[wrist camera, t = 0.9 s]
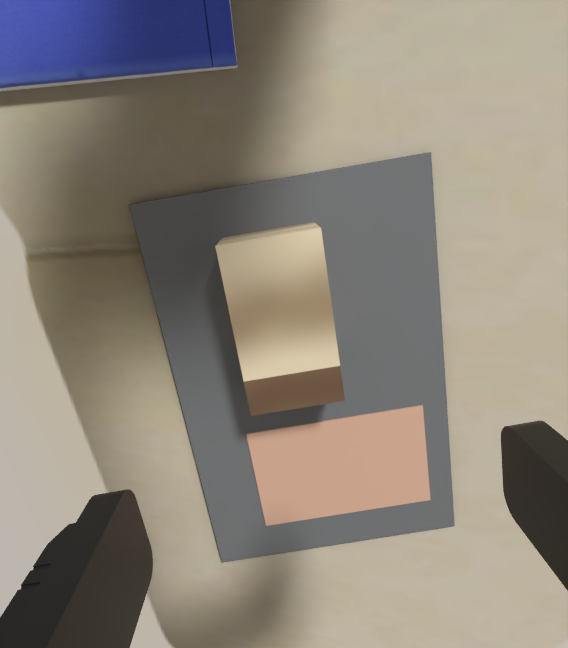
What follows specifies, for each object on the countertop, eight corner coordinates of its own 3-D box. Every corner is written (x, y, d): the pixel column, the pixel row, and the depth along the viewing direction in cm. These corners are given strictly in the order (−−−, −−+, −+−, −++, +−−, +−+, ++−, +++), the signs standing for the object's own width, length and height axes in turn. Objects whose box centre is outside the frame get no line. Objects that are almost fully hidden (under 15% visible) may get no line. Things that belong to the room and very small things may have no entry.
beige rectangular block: (222, 237, 24) (215, 246, 21) (314, 222, 24) (321, 227, 21) (253, 387, 27) (250, 416, 24) (335, 373, 27) (344, 400, 24)
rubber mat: (131, 204, 24) (128, 204, 24) (428, 152, 24) (431, 152, 23) (222, 557, 31) (221, 563, 31) (452, 521, 31) (455, 527, 30)
